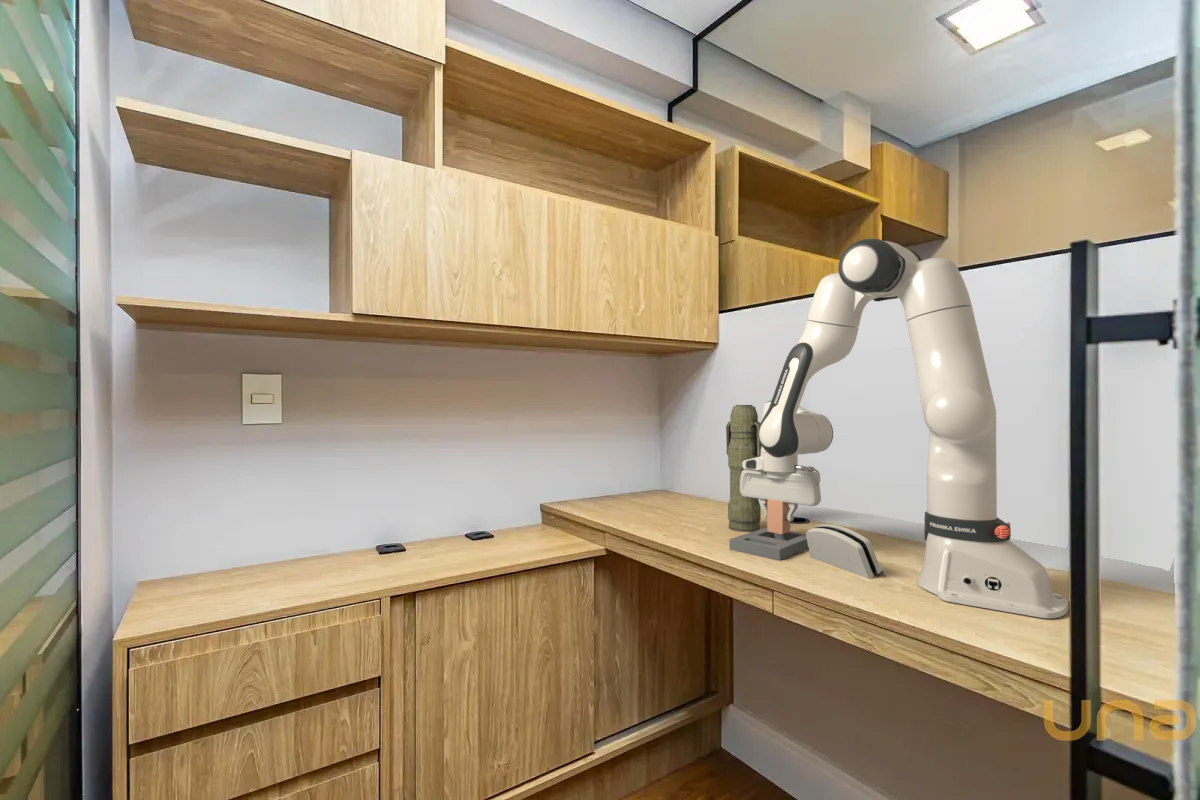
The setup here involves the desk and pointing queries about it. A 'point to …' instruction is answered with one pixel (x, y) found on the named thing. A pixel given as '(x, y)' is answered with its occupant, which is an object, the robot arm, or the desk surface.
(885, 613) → the desk surface
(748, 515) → the thermos
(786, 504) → the square peg
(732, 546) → the socket block
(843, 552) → the grey arched slotted block
